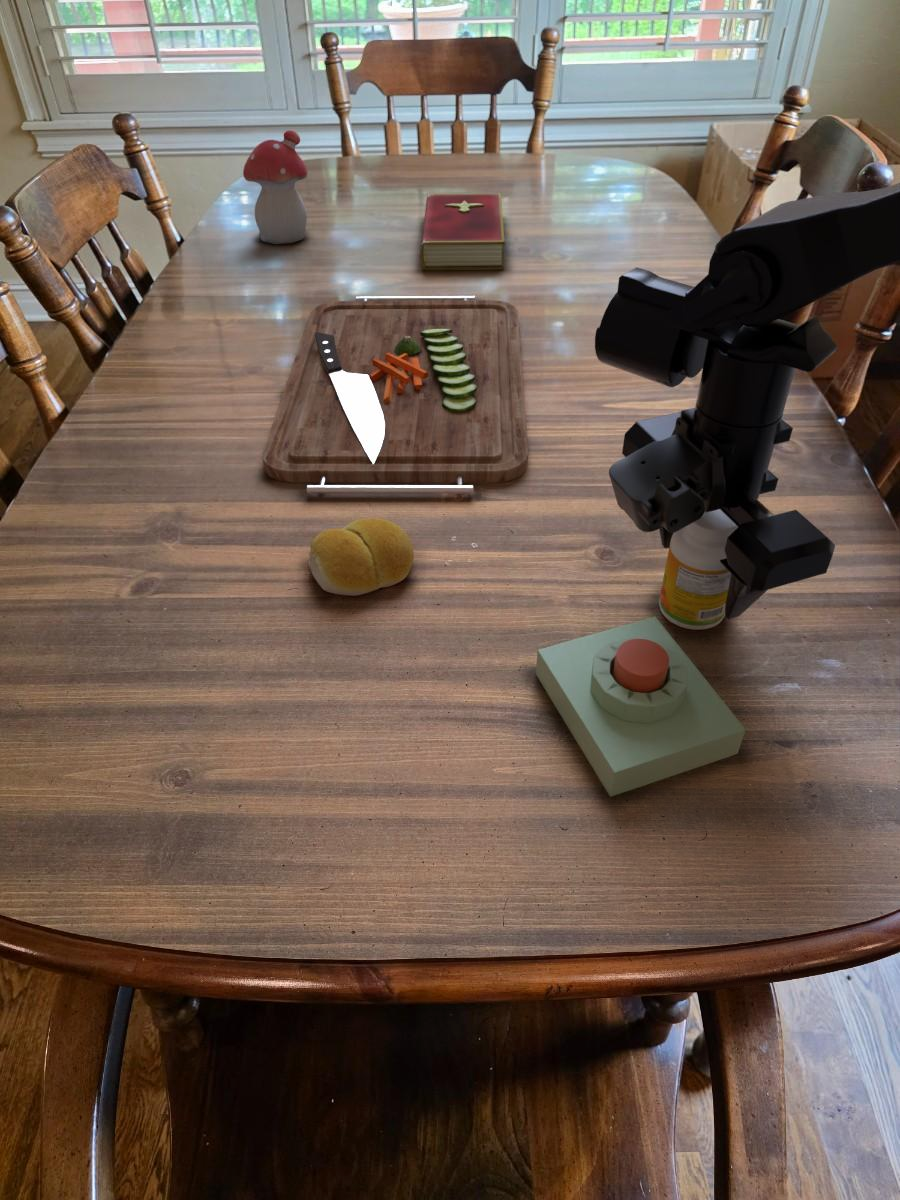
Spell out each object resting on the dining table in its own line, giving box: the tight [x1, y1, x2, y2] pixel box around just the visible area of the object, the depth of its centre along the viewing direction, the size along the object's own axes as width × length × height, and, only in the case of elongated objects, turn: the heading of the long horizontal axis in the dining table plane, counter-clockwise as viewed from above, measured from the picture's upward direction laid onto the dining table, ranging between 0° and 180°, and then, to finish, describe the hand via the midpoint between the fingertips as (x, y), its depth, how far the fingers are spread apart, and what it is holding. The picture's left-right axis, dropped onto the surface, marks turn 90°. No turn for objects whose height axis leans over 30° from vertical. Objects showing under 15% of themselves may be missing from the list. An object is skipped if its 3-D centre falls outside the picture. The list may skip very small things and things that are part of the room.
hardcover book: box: [419, 192, 506, 271], centre depth 132 cm, size 12×21×4 cm, turn 179°
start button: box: [613, 639, 669, 693], centre depth 60 cm, size 4×4×2 cm
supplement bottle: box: [658, 509, 738, 631], centre depth 68 cm, size 5×5×10 cm
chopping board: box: [262, 295, 529, 495], centre depth 99 cm, size 45×27×3 cm, turn 179°
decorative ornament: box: [242, 129, 308, 245], centre depth 131 cm, size 9×6×15 cm
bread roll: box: [307, 517, 415, 597], centre depth 75 cm, size 8×9×4 cm
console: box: [535, 616, 746, 798], centre depth 62 cm, size 10×12×4 cm
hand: (698, 579), depth 69 cm, fingers open, 9 cm apart
